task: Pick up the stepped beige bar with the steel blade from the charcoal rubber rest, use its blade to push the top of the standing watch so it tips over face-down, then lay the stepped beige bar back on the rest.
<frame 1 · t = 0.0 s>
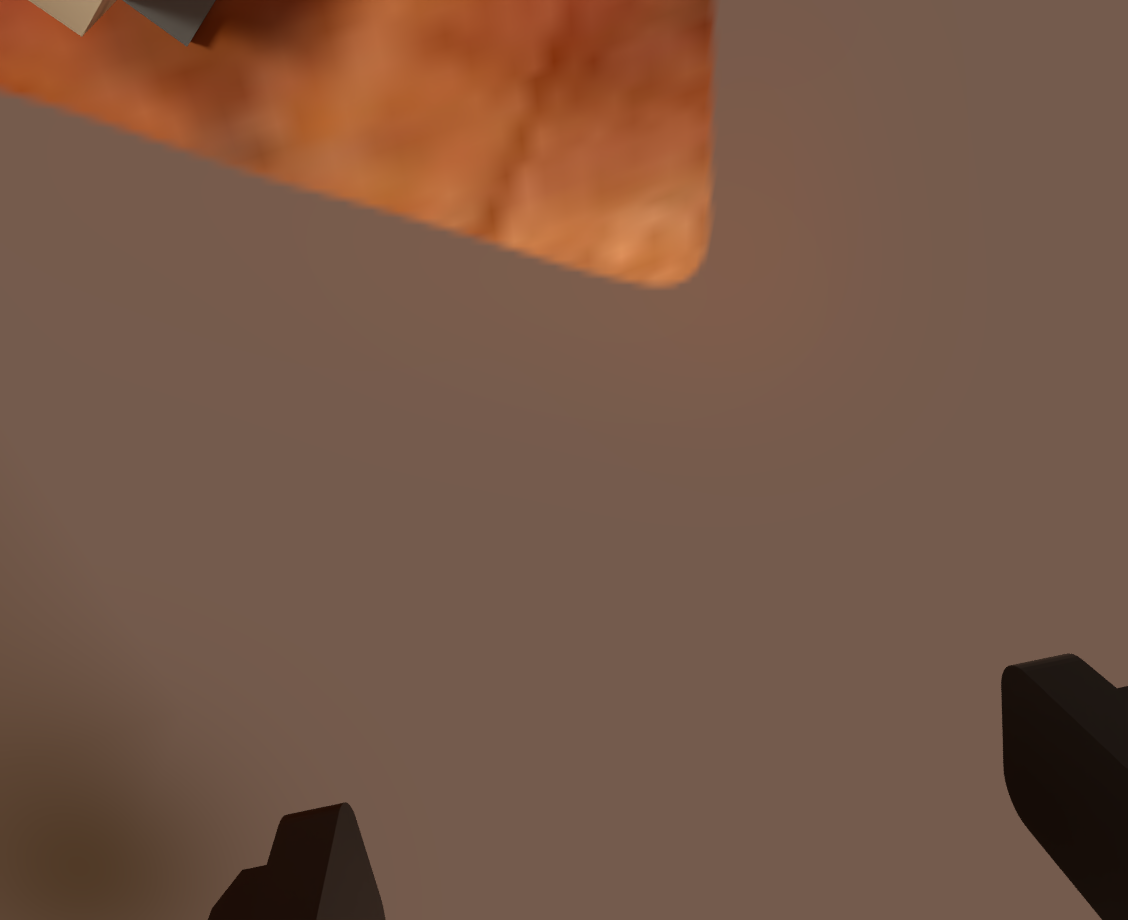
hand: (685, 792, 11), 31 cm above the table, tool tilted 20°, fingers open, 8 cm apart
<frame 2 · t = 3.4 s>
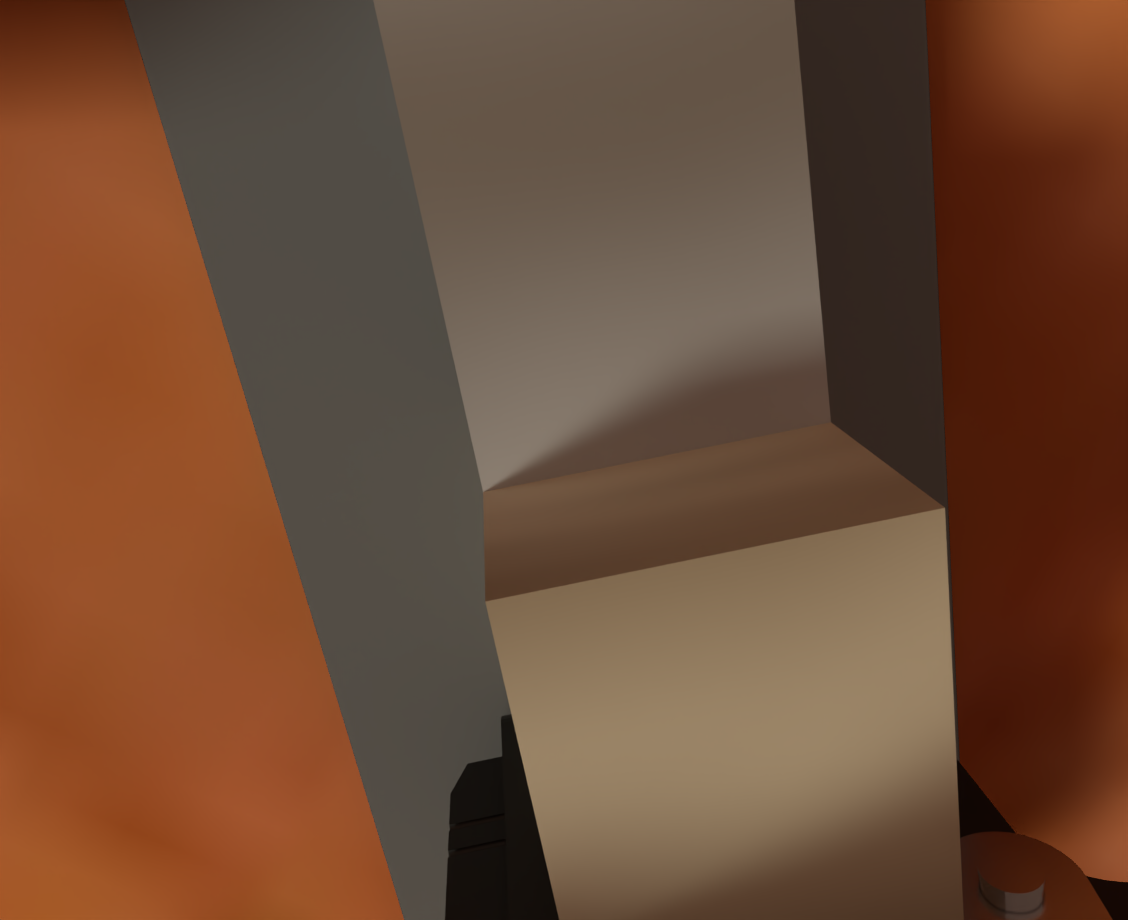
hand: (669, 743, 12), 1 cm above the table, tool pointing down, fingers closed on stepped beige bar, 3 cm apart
stepped beige bar: (669, 736, 12), point 1 cm above the table, touching gripper, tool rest
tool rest: (609, 440, 11), on the table
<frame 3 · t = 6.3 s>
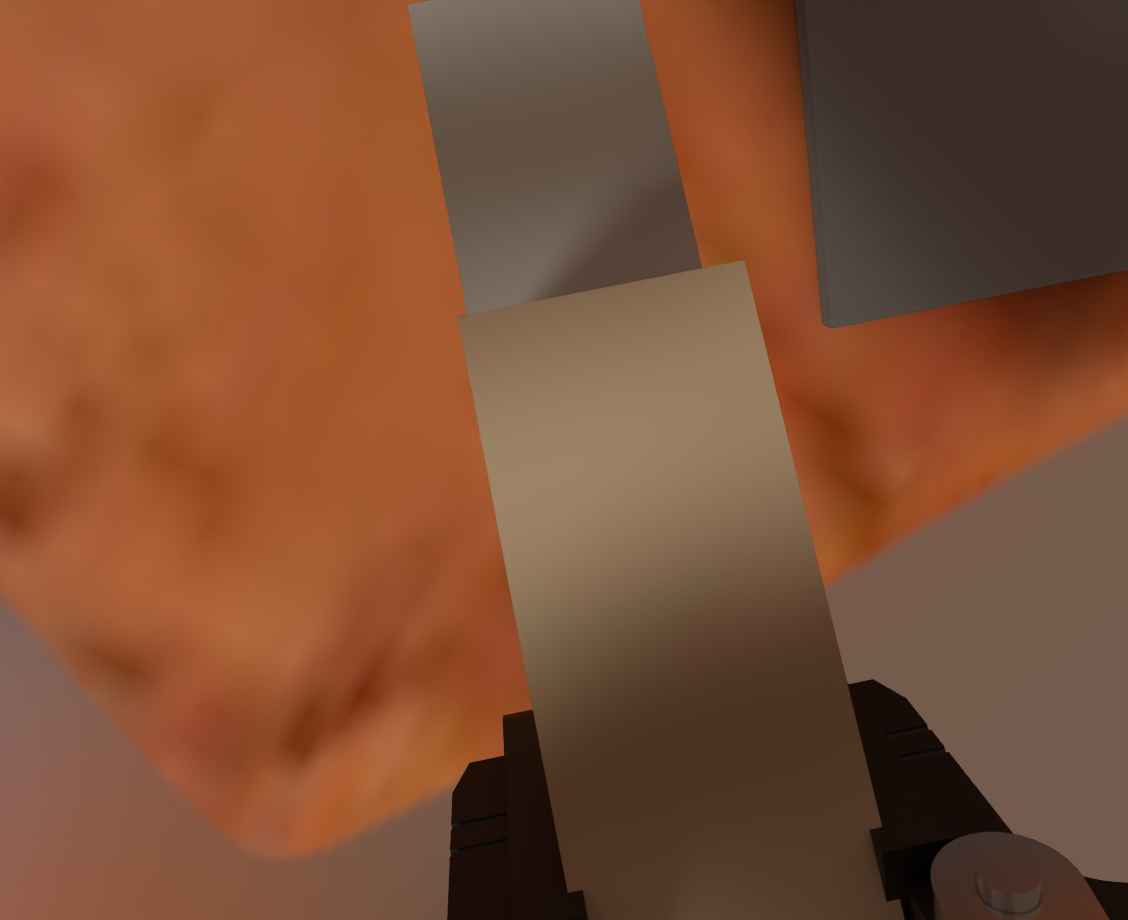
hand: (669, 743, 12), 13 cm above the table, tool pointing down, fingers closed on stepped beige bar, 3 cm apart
stepped beige bar: (659, 719, 14), point 11 cm above the table, tilted 28°, touching gripper
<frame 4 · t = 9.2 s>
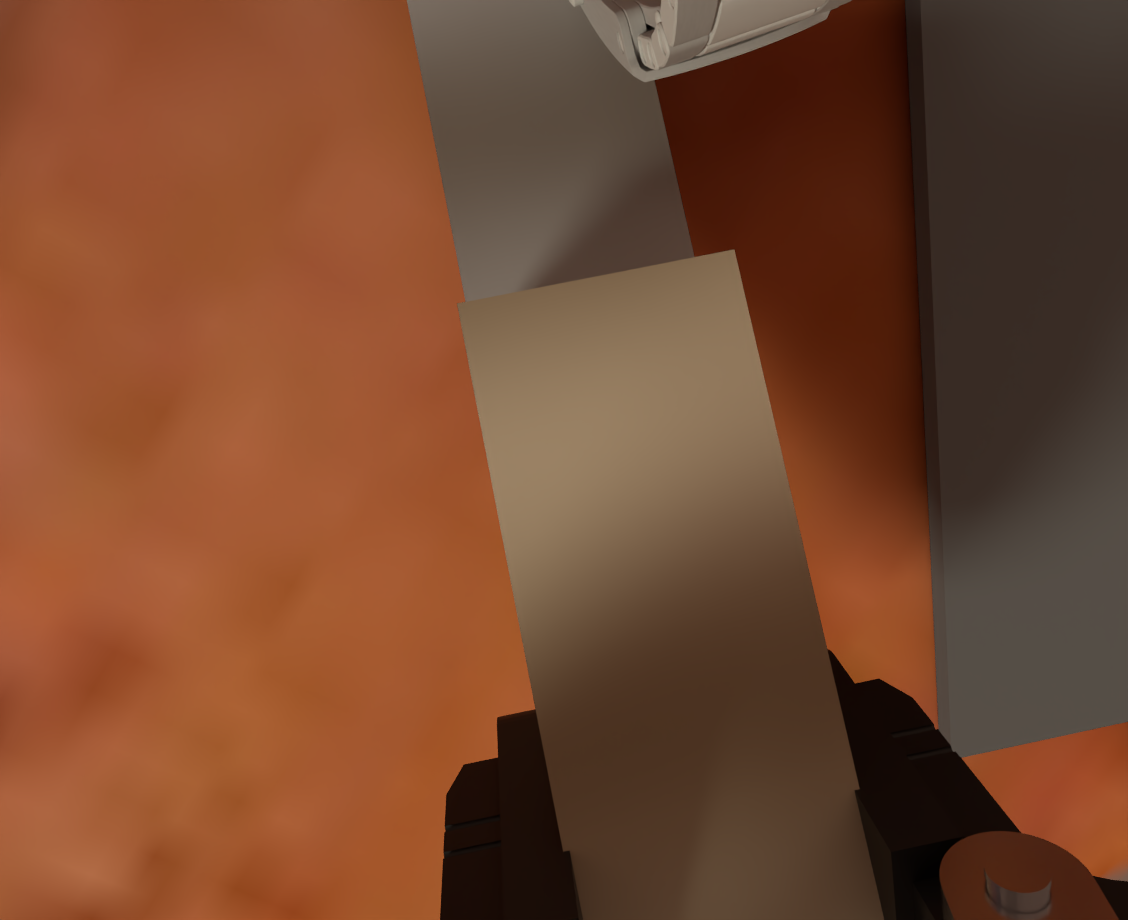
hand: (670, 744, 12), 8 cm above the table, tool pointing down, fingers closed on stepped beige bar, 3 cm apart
stepped beige bar: (649, 688, 14), point 6 cm above the table, tilted 27°, touching gripper, watch
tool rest: (1108, 353, 19), on the table
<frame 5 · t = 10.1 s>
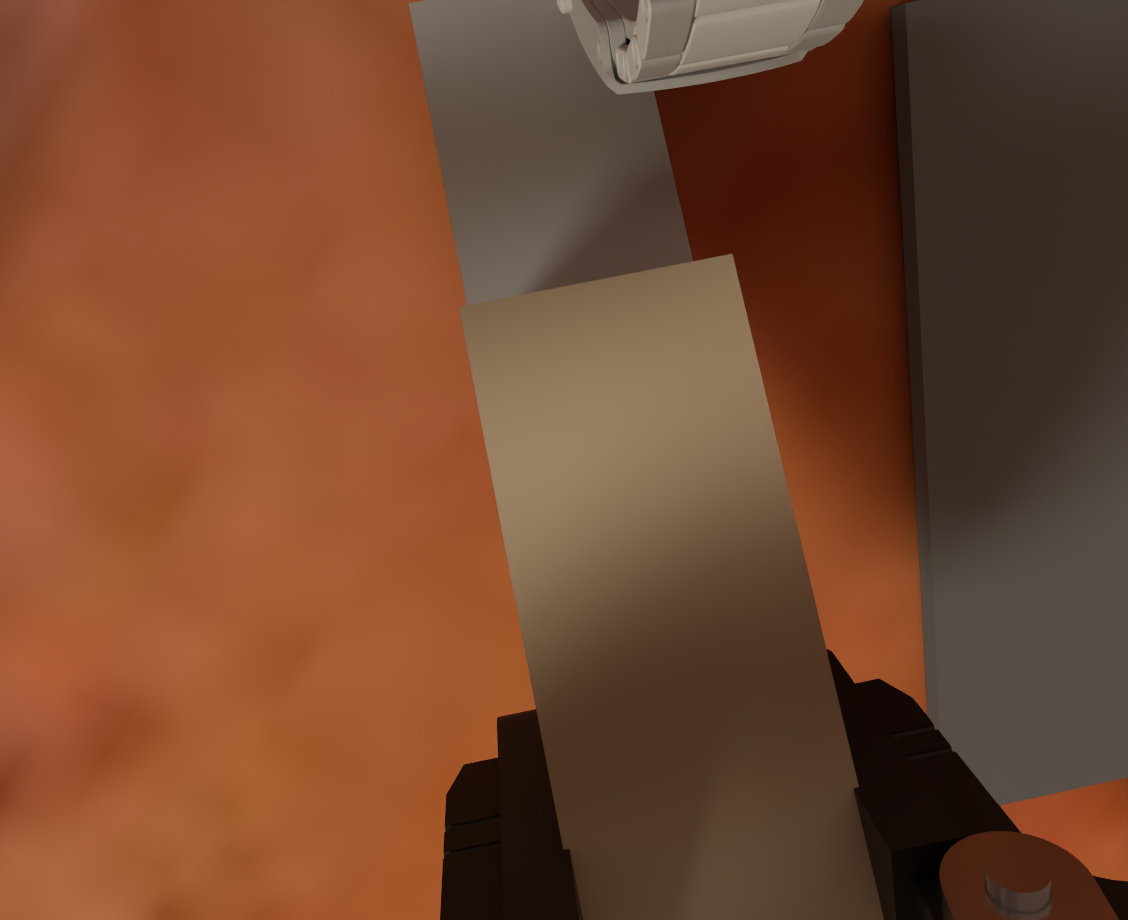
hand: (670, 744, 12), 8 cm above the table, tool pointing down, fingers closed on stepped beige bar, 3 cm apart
stepped beige bar: (651, 694, 14), point 6 cm above the table, tilted 28°, touching gripper, watch
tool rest: (1094, 428, 20), on the table
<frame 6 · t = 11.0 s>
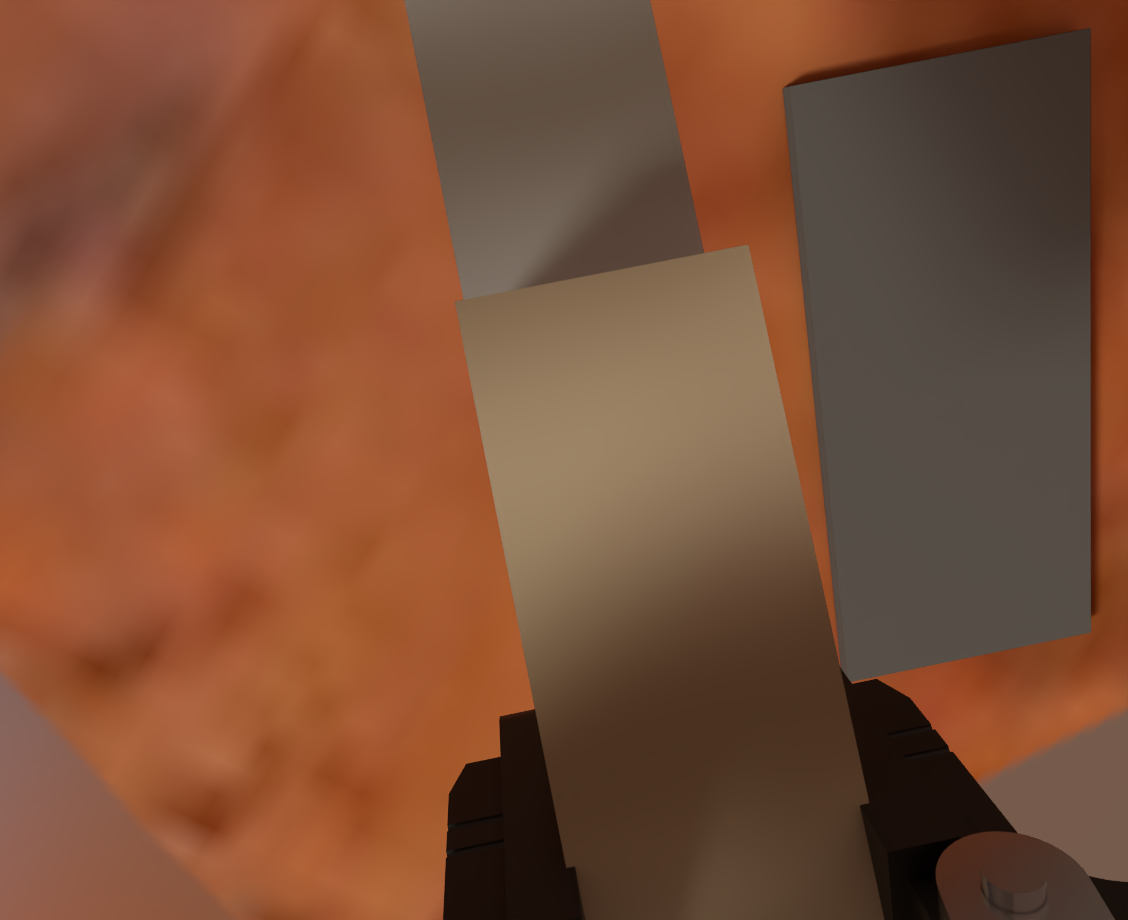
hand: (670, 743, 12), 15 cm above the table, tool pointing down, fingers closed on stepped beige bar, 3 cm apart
stepped beige bar: (648, 680, 14), point 14 cm above the table, tilted 22°, touching gripper
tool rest: (947, 384, 27), on the table
when the fingers open (3 cm above the table, at t = 15.0 s): stepped beige bar drops 1 cm, resting on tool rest.
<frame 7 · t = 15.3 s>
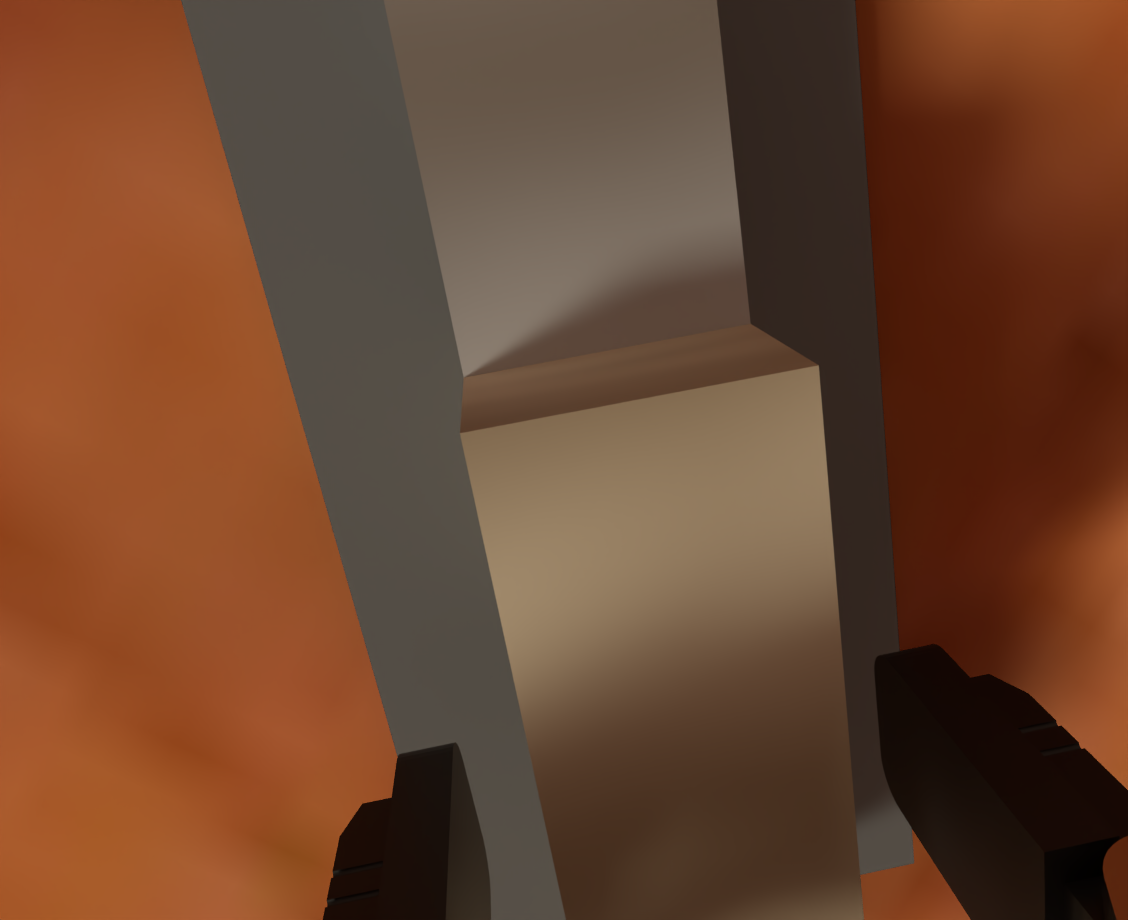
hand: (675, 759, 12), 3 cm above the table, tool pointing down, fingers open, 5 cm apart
stepped beige bar: (631, 631, 14), point 1 cm above the table, touching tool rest
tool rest: (594, 401, 13), on the table
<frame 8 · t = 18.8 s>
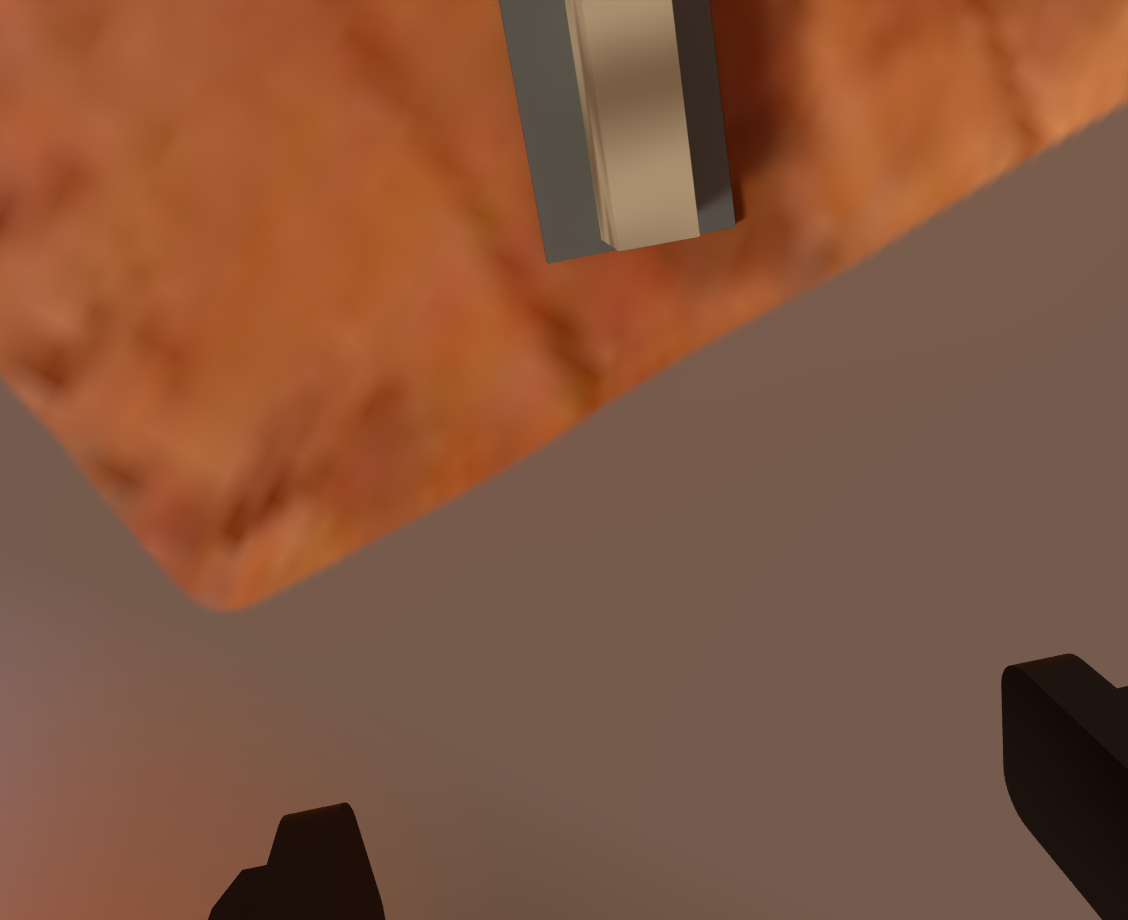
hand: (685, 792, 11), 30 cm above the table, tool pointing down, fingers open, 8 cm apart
stepped beige bar: (619, 105, 36), point 1 cm above the table, touching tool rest
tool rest: (604, 12, 36), on the table
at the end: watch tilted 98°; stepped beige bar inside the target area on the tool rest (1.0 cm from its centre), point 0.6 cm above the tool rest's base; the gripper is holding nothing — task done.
